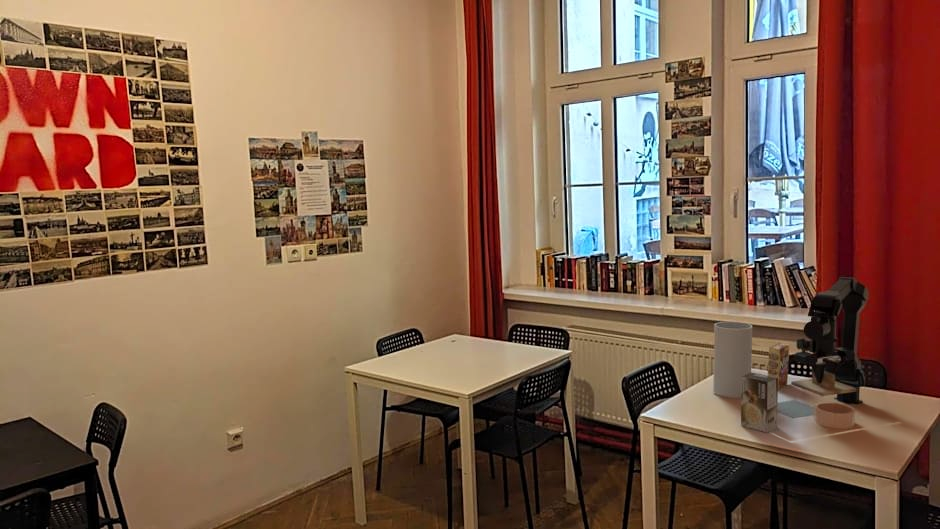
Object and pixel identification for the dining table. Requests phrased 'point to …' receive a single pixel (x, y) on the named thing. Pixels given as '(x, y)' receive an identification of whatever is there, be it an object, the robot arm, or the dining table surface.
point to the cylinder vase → (731, 357)
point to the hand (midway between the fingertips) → (823, 382)
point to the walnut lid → (824, 385)
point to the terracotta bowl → (834, 415)
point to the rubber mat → (794, 409)
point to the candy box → (779, 363)
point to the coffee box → (759, 401)
